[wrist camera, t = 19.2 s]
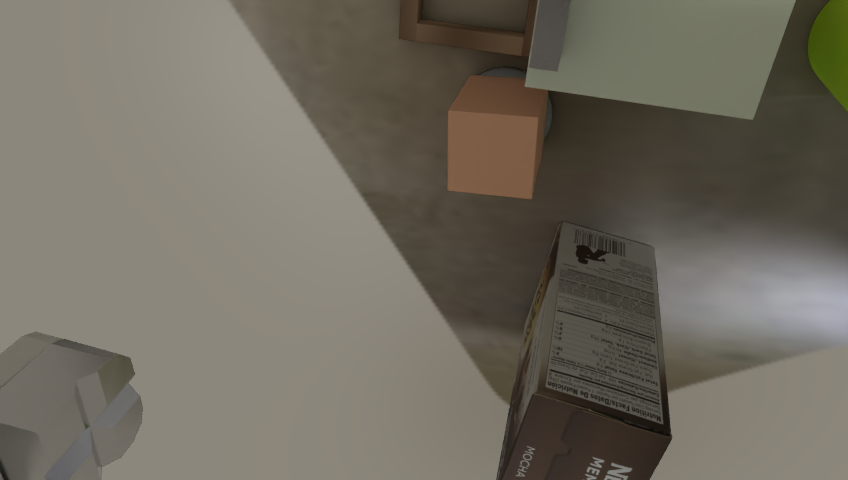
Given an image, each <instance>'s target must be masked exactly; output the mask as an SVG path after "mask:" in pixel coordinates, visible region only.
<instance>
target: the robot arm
mask: <svg viewBox="0 0 848 480" xmlns="http://www.w3.org/2000/svg"><path fill="white" fill-rule="evenodd" d="M134 375H135V372H134V369H133V365H132V362H131V359H130V358H129V357H126V356H123V355H120V354H117V353H113V352H109V351H106V350H102V349H99V348H95V347H91V346H88V345H84V344H81V343H77V342H73V341H69V340H66V339H61V338H58V337H54V336H50V335H46V334H42V333H39V332H33V333H30V334H27V335H24V336H22V337H21V338H19V339H18V340H17V341H16V342H14V343H13V344H12V345H11V346H10V347H8V348H7V349H6V350H5V351H4V352H2V353H1V354H0V480H101V478H102V467H103V466H105V465H107V464H109V463H111V462H113V461H115V460H117V459H119V458H121V457H122V456H123V455H124V453H125V452H126V451H127V449H128V448H129V447H130V445H131V444H132V443H133V441H134V439H135V437H136V434H137V432H138V430H139V427H140V425H141V423H142V411H143V407H142V402H141V397H140V395H139V394H138V393H137V392H136V391H135V390H134V388H133V387H132V386H131V385H130V384H129V381H130V380H131V379H132V378H133V376H134Z"/></svg>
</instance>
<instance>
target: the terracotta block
mask: <svg viewBox="0 0 848 480" xmlns="http://www.w3.org/2000/svg"><path fill="white" fill-rule="evenodd" d="M525 81H526V78H510V77H495V76H479V75H470V76H469V78H468V80H467V81H466V83H465V84H464V86H463V88H462V89H461V91H460V92H459V94H458V96H457V97H456V99H455V100H454V102H453V103H452V105H451V107H450V108H449V110H448V190H447V191H457V192H466V193H476V194H485V195H495V196H505V197H514V198H524V199H532V195H533V191H534V187H535V183H536V179H537V174H538V170H539V166H540V162H541V158H542V153H543V142H544V131H545V120H546V109H547V97H548V90H545V89H538V88H531V87H525Z"/></svg>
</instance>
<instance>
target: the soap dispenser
mask: <svg viewBox="0 0 848 480" xmlns="http://www.w3.org/2000/svg"><path fill="white" fill-rule="evenodd" d="M808 58H809V62H810V65H811V67H812V69H813V71H814V72H815V74H816V75H817V76H818V78H819V79H820V80H821V81H822V82H823V84H824V85H825V86H826V87H827V88H828V90H829V91H830V92H831V93H832V94H833V95H834V97H835V98H836V99H837V100H838V101H839V103H840V104H841V105H842V106H843V107H844V108H845V110H846V111H847V112H848V0H830V1H829V2H828V3H827V4H826V5H825V6H824V7H823V9H822V10H821V11H820V13H819V14H818V16H817V17H816V19H815V21H814V23H813V25H812V28H811V31H810V34H809V38H808Z"/></svg>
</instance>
